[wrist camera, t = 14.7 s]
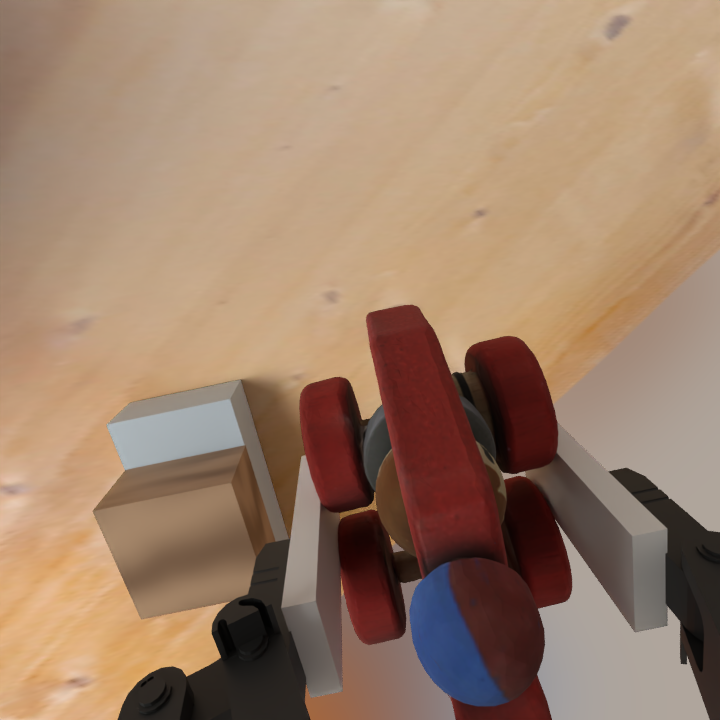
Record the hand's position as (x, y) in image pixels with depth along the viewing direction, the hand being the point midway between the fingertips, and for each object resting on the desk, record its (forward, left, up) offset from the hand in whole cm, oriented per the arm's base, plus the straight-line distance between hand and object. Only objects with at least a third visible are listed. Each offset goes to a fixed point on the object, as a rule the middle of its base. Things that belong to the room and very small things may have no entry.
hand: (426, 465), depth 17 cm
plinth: (+10, -16, -21) cm, 28 cm away
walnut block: (+10, -16, -17) cm, 25 cm away
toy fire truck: (0, 0, -1) cm, 1 cm away
